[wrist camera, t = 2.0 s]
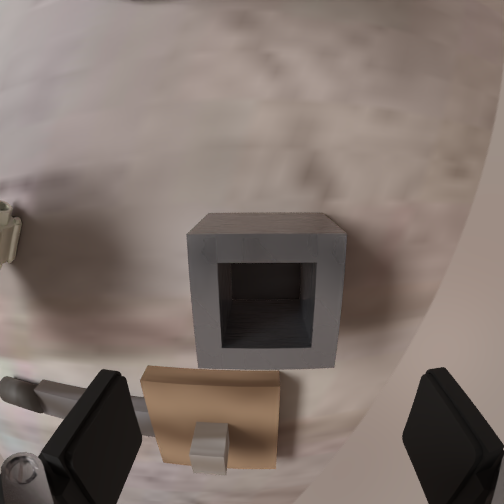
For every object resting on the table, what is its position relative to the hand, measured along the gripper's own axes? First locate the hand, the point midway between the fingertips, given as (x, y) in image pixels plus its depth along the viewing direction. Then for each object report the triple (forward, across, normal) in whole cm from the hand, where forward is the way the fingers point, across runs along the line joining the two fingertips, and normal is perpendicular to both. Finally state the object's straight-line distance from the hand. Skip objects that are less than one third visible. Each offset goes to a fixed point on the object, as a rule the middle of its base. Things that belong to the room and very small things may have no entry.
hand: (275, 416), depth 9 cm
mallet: (+13, +13, +12) cm, 22 cm away
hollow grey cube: (+12, 0, -1) cm, 12 cm away
